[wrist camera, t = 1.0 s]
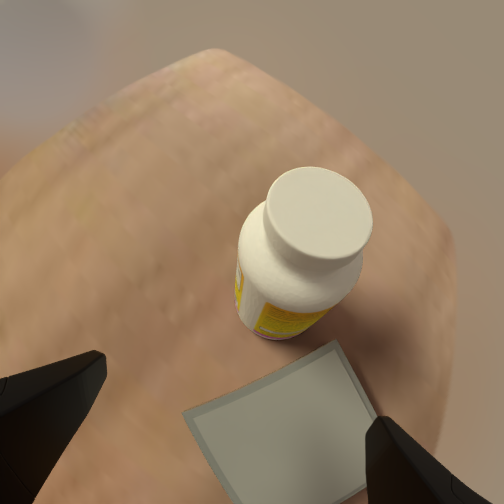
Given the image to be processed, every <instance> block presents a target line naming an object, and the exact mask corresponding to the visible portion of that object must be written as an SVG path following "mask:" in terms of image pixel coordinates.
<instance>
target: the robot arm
mask: <svg viewBox="0 0 504 504" xmlns="http://www.w3.org/2000/svg"><path fill="white" fill-rule="evenodd" d="M106 377H107V365H106V356H105V354H103V353H101V352H99V351H96V350H92V351H89V352H86V353H83V354H80V355H76V356H73V357H70V358H67V359H64V360H61V361H58V362H55V363H51V364H48V365H45V366H42V367H39V368H35V369H32V370H29V371H25V372H22V373H18V374H15V375H12V376H9V377H4V378H1V379H0V504H32V503H33V502H34V500H35V498H36V496H37V494H38V493H39V491H40V489H41V488H42V486H43V484H44V483H45V481H46V479H47V478H48V476H49V474H50V473H51V471H52V469H53V468H54V466H55V464H56V463H57V461H58V460H59V458H60V456H61V455H62V453H63V452H64V450H65V449H66V447H67V445H68V444H69V442H70V441H71V439H72V438H73V436H74V434H75V433H76V431H77V430H78V428H79V427H80V425H81V424H82V422H83V421H84V419H85V418H86V416H87V414H88V413H89V411H90V409H91V407H92V405H93V403H94V401H95V399H96V397H97V395H98V393H99V391H100V389H101V387H102V385H103V383H104V381H105V379H106ZM365 474H366V484H367V494H368V504H492V503H490V502H489V501H487V500H486V499H484V498H483V497H481V496H480V495H479V494H477V493H476V492H474V491H473V490H471V489H470V488H469V487H467V486H466V485H465V484H464V483H463V482H461V481H460V480H459V479H458V478H457V477H455V476H454V475H453V474H451V472H450V471H449V470H447V469H446V468H445V467H444V466H443V465H441V463H440V462H438V461H437V460H436V459H435V458H434V457H433V456H432V455H431V454H430V453H428V452H427V451H426V450H425V449H424V448H423V447H422V446H421V445H420V444H418V443H417V442H416V441H415V440H414V439H413V438H412V437H411V436H410V435H409V434H407V433H406V432H405V431H404V430H403V429H402V428H401V427H400V426H399V425H398V424H397V423H395V422H394V421H393V420H392V419H391V418H390V417H388V416H378V417H376V418H375V420H374V421H373V423H372V424H371V426H370V427H369V429H368V430H367V432H366V435H365Z"/></svg>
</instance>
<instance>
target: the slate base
mask: <svg viewBox="0 0 504 504" xmlns="http://www.w3.org/2000/svg"><path fill="white" fill-rule="evenodd" d="M182 415H183V417H184V419H185V421H186V423H187V425H188V427H189V429H190V431H191V433H192V435H193V436H194V438H195V440H196V442H197V444H198V446H199V447H200V449H201V451H202V453H203V455H204V456H205V458H206V460H207V462H208V463H209V465H210V467H211V468H212V470H213V472H214V473H215V475H216V477H217V478H218V480H219V482H220V483H221V485H222V486H223V488H224V489H225V491H226V493H227V494H228V496H229V497H230V499H231V500H232V502H233V503H234V504H340V503H341V502H343V501H345V500H346V499H348V498H350V497H351V496H353V495H354V494H356V493H358V492H359V491H361V490H362V489H364V488H365V487H367V484H366V474H365V435H366V432H367V430H368V429H369V427H370V426H371V424H372V423H373V421H374V420H375V418H376V417H377V415H376V413H375V411H374V409H373V407H372V405H371V403H370V401H369V399H368V397H367V395H366V393H365V392H364V390H363V388H362V386H361V384H360V382H359V380H358V378H357V376H356V374H355V373H354V371H353V369H352V367H351V365H350V363H349V361H348V359H347V358H346V356H345V354H344V352H343V350H342V348H341V347H340V345H339V343H338V341H337V339H334V340H332V341H330V342H328V343H326V344H324V345H323V346H321V347H319V348H317V349H316V350H314V351H312V352H310V353H308V354H306V355H305V356H303V357H301V358H299V359H297V360H295V361H293V362H292V363H290V364H288V365H286V366H284V367H282V368H280V369H278V370H276V371H274V372H272V373H270V374H268V375H266V376H264V377H262V378H260V379H258V380H255V381H253V382H251V383H249V384H247V385H245V386H243V387H240V388H238V389H236V390H234V391H232V392H229V393H227V394H225V395H222V396H220V397H218V398H215V399H213V400H211V401H208V402H206V403H203V404H201V405H198V406H196V407H193V408H191V409H188V410H186V411H184V412H182Z"/></svg>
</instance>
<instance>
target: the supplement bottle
mask: <svg viewBox="0 0 504 504" xmlns="http://www.w3.org/2000/svg"><path fill="white" fill-rule="evenodd" d="M372 228H373V217H372V212H371V209H370V206H369V204H368V202H367V200H366V198H365V197H364V195H363V194H362V192H361V191H360V190H359V189H358V188H357V187H356V186H355V185H354V184H353V183H352V182H351V181H349V180H348V179H347V178H345V177H343V176H341V175H340V174H338V173H336V172H333V171H331V170H328V169H324V168H319V167H301V168H296V169H293V170H290V171H288V172H286V173H284V174H282V175H281V176H280V177H279V178H278V179H277V180H276V181H275V182H274V183H273V184H272V186H271V188H270V190H269V192H268V195H267V199H266V201H264V202H262V203H261V204H260V205H258V206H257V207H256V208H255V209H254V210H253V211H252V212H251V213H250V214H249V216H248V217H247V219H246V221H245V222H244V224H243V227H242V229H241V233H240V237H239V244H238V258H237V271H236V282H235V305H236V309H237V312H238V315H239V317H240V319H241V320H242V322H243V323H244V324H245V325H246V327H247V328H249V329H250V330H251V331H252V332H254V333H255V334H257V335H259V336H261V337H264V338H267V339H272V340H283V339H289V338H292V337H295V336H297V335H299V334H300V333H302V332H303V331H305V330H306V329H307V328H309V327H310V326H311V325H312V324H314V323H315V322H316V321H317V320H319V319H320V318H321V317H322V316H323V315H325V314H326V313H327V312H328V311H329V310H331V309H332V308H333V307H334V306H335V305H337V304H338V303H339V302H340V301H341V300H342V299H343V298H344V297H345V296H346V295H347V294H348V293H349V292H350V291H351V290H352V288H353V287H354V285H355V284H356V282H357V280H358V278H359V276H360V273H361V269H362V263H363V248H364V247H365V245H366V244H367V242H368V241H369V238H370V236H371V233H372Z"/></svg>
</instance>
